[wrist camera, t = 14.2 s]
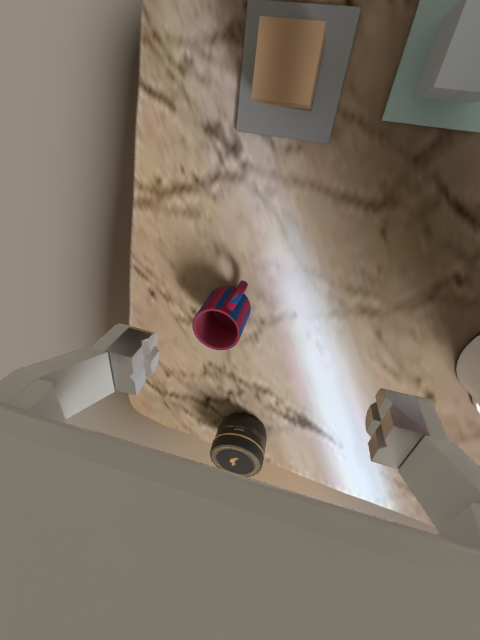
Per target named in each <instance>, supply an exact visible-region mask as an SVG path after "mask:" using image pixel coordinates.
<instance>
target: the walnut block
mask: <svg viewBox="0 0 480 640" xmlns="http://www.w3.org/2000/svg"><path fill="white" fill-rule="evenodd" d="M325 34H326V21H316V20H304V19H291V18H279V17H266V16H260V20H259V29H258V39H257V48H256V57H255V67H254V76H253V85H252V95H251V98H252V99H253V100H255V101H257V102H259V103H260V104H262V105H266V106H274V107H283V108H291V109H299V110H307V111H312V106H313V101H314V96H315V91H316V86H317V81H318V76H319V72H320V67H321V62H322V57H323V52H324V47H325Z"/></svg>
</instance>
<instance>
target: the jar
mask: <svg viewBox="0 0 480 640" xmlns="http://www.w3.org/2000/svg"><path fill="white" fill-rule="evenodd" d="M266 440H267V438H266V430H265V428H264V426H263V425H262V423H261V422H260V421H259V420H257V419H256V418H254V417H253V416H250V415H247V414H243V413H235V414H231V415H229V416H227V417H226V418H225V419H224V420H223V421H222V423H221V424H220V426H219V428H218V431H217V434H216V437H215V439H214V440H213V443H212V447H211V451H210V457H211V460H212V461H213V463H214V464H215V465H216V466H217V467H218V468H219V469H222V470H225V471H229V472H232V473H235V474H239V475H242V476H245V477H251V476H254V475H256V474H258V473H259V471H260V470H261V468H262V464H263V460H264V452H265V447H266Z"/></svg>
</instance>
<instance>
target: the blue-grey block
mask: <svg viewBox="0 0 480 640" xmlns="http://www.w3.org/2000/svg"><path fill="white" fill-rule="evenodd" d="M413 97H418V98H427V99H436V100H445V101H453V102H462V103H475V102H479V101H480V0H460V1H459V2H458V3H457V4H456V5H455V6H454V7H453V8H452V9H451V10H450V11H449V12H448V13H447V14H446V15H445V17H444V18H443V19H442V20H441V21H440V22H439V25H438V27H437V30H436V33H435V36H434V39H433V42H432V44H431V47H430V50H429V53H428V56H427V58H426V61H425V64H424V67H423V70H422V73H421V75H420V78H419V81H418V84H417V87H416V89H415V92H414V95H413Z"/></svg>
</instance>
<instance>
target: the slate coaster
mask: <svg viewBox="0 0 480 640" xmlns="http://www.w3.org/2000/svg"><path fill="white" fill-rule="evenodd" d="M360 12H361V7H354V6H340V5H326V4H313V3H299V2H285V1H271V0H248V3H247V14H246V25H245V37H244V48H243V59H242V70H241V82H240V93H239V104H238V116H237V127H236V131H239V132H246V133H254V134H261V135H268V136H275V137H283V138H290V139H297V140H304V141H312V142H319V143H326V144H328V143H329V139H330V135H331V131H332V127H333V123H334V119H335V115H336V111H337V106H338V102H339V98H340V94H341V90H342V86H343V82H344V78H345V73H346V69H347V65H348V61H349V57H350V53H351V49H352V45H353V40H354V36H355V32H356V28H357V24H358V20H359V16H360ZM260 16H266V17H279V18H291V19H304V20H316V21H326V34H325V47H324V52H323V57H322V62H321V67H320V72H319V76H318V81H317V86H316V91H315V96H314V101H313V106H312V111H307V110H299V109H291V108H283V107H274V106H266V105H262V104H260V103H259V102H257V101H255V100H253V99H252V98H251V95H252V85H253V76H254V67H255V57H256V48H257V39H258V29H259V20H260Z"/></svg>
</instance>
